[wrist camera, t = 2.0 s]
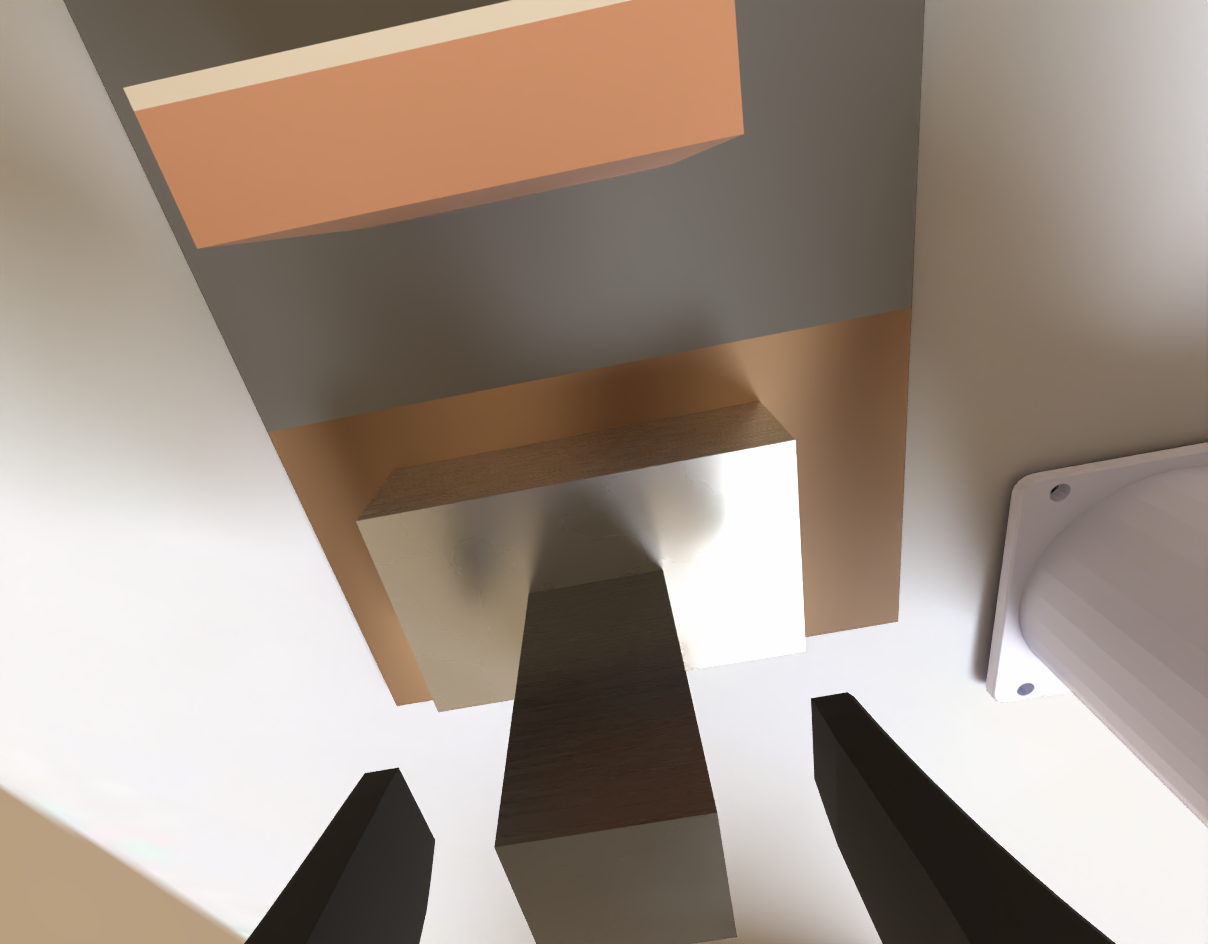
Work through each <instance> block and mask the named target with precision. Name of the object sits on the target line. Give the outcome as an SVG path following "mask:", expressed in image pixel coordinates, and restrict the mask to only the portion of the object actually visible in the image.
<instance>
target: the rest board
mask: <svg viewBox="0 0 1208 944" xmlns="http://www.w3.org/2000/svg"><path fill="white" fill-rule="evenodd" d="M911 309H912V308H907V309H902V310H896V311H891V312H886V313H881V314H876V315H871V316H865V317H860V318H855V319H850V320H845V321H840V322H834V323H829V324H824V325H819V326H814V327H809V328H804V329H798V330H793V331H788V332H783V333H778V334H773V335H767V336H762V337H757V338H752V339H747V340H742V341H736V342H731V343H726V344H721V345H716V346H711V347H705V348H700V349H695V350H690V351H685V352H680V353H674V354H669V355H664V356H659V357H654V358H649V359H643V360H638V361H633V362H628V363H623V364H618V365H612V366H607V367H602V368H597V369H592V370H587V371H581V372H576V373H571V374H566V375H561V376H556V377H550V378H545V379H540V380H535V381H530V382H525V383H520V384H514V385H509V386H504V387H499V388H494V389H489V390H483V391H478V392H473V393H468V394H463V395H458V396H452V397H447V398H442V399H437V400H432V401H427V402H421V403H416V404H411V405H406V406H401V407H396V408H390V409H385V410H380V411H375V412H370V413H365V414H359V415H354V416H349V417H344V418H339V419H334V420H328V421H323V422H318V423H313V424H308V425H303V426H297V427H292V428H287V429H282V430H277V431H272V432H268V434H269V436H270V438H271V440H272V442H273V445H274V447H275V449H276V451H277V453H278V455H279V457H280V459H281V462H282V464H283V466H284V468H285V470H286V472H287V474H288V476H289V478H290V481H291V483H292V485H293V487H294V489H295V491H296V493H297V495H298V498H299V500H300V502H301V504H302V506H303V508H304V510H305V512H306V514H307V517H308V519H309V521H310V523H311V525H312V527H313V529H314V531H315V534H316V536H317V538H318V540H319V542H320V544H321V546H322V548H323V550H324V553H325V555H326V557H327V559H328V561H329V563H330V565H331V567H332V569H333V572H334V574H335V576H336V578H337V580H338V582H339V584H340V586H341V589H342V591H343V593H344V595H345V597H346V599H347V601H348V603H349V605H350V608H351V610H352V612H353V614H354V616H355V618H356V620H357V622H358V625H359V627H360V629H361V631H362V633H363V635H364V637H365V639H366V641H367V644H368V646H369V648H370V650H371V652H372V654H373V656H374V658H375V661H376V663H377V665H378V667H379V669H380V671H381V673H382V675H383V677H384V680H385V682H386V684H387V686H388V688H389V690H390V692H391V694H392V697H393V699H394V701H395V703H396V705H397V706H400V705H406V704H412V703H418V702H424V701H430V700H433V699H432V696H431V694H430V692H429V689H428V687H427V685H426V682H425V680H424V678H423V675H422V673H421V671H420V668H419V666H418V664H417V662H416V659H415V657H414V655H413V652H412V650H411V648H410V645H409V643H408V641H407V638H406V636H405V634H404V631H403V629H402V627H401V625H400V622H399V620H398V618H397V615H396V613H395V611H394V608H393V606H392V604H391V601H390V599H389V597H388V594H387V592H386V590H385V587H384V585H383V583H382V581H381V578H380V576H379V574H378V571H377V569H376V567H375V564H374V562H373V560H372V557H371V555H370V553H369V550H368V548H367V546H366V544H365V541H364V539H363V537H362V534H361V532H360V530H359V527H358V525H357V523H356V520H357V519H358V518H359V516H360V515H361V513H362V512H363V510H364V509H365V508H366V506H367V505H368V503H369V502H370V501H371V499H372V498H373V496H374V495H375V493H376V492H377V491H378V489H379V488H380V486H381V485H382V484H383V482H384V481H385V479H386V478H387V476H388V475H389V474H390V472H391V471H392V470H393V469H399V468H404V467H409V466H415V465H420V464H425V463H430V462H436V461H441V460H446V459H452V458H457V457H462V456H468V455H473V454H478V453H483V452H489V451H494V450H499V449H505V448H510V447H515V446H521V445H526V444H531V443H537V442H542V441H547V440H552V439H558V438H563V437H568V436H574V435H579V434H584V433H590V432H595V431H600V430H605V429H611V428H616V427H621V426H627V425H632V424H637V423H643V422H648V421H653V420H659V419H664V418H669V417H674V416H680V415H685V414H690V413H696V412H701V411H706V410H712V409H717V408H722V407H727V406H733V405H738V404H743V403H749V402H754V401H759V400H760V401H761V402H762V403H763V405H764V406H765V407H766V408H767V409H768V410H769V411H770V412H771V413H772V415H773V416H774V417H775V418H776V419H777V420H778V421H779V422H780V423H781V425H782V426H783V427H784V428H785V429H786V430H787V431H788V432H789V433H790V435H791V436H792V437H793V438H794V439H795V441H796V462H797V484H798V505H799V526H800V548H801V569H802V591H803V612H804V634H805V637H809V636H815V635H821V634H827V633H833V632H839V631H845V630H851V629H857V628H863V627H868V626H874V625H880V624H886V623H892V622H898V611H899V588H900V565H901V542H902V518H903V495H904V472H905V449H906V425H907V402H908V379H909V356H910V332H911Z"/></svg>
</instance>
